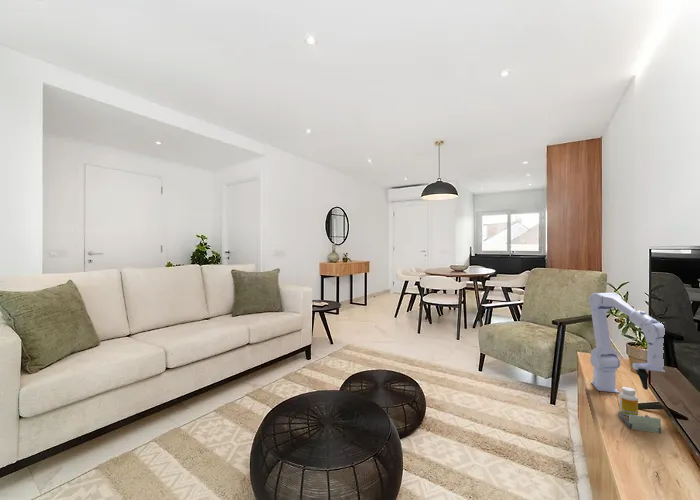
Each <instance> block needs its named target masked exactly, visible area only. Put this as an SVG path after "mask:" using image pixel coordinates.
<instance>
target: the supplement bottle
mask: <svg viewBox="0 0 700 500" xmlns="http://www.w3.org/2000/svg"><path fill="white" fill-rule="evenodd" d="M619 411H621V412H622V413H623V414H624V415H625V416H626V417H629V414H630V415H638V416H639V397H638V396H637V395H636V390H635V389H634V388H632V387H629V386H628V387H627V386H622V387H621V392H620V393H619Z"/></svg>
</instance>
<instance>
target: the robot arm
mask: <svg viewBox="0 0 700 500" xmlns="http://www.w3.org/2000/svg"><path fill="white" fill-rule="evenodd" d="M588 300H589V301H588V302H589V306H590V307H589V309H590V313H591V320H592V326H593V333H594V339H595V340H594V341H595V347H594V348H593V349H592V350H591V351H590V363H591V365H592V366H593V369H592V370H593V376H592V377H593V380H591V381H590V382H591V384H592V385H593V386H594V387H595V389H596V390H597V391H599V392H600V391H601V392H609V393H617V394H620V393H621V392H620V391H619V389H617V388H616V386H617V385H616V378H617V377H616V372H617V371H618V369H619V368H620V367H621V359H620V357H619V354H618V351H616V350H615V349H613V348H612V344H611V338H610V331H609V326H608V325H609V324H608V317H607V312H609V311H610V310H612V309H614V308H615V309H617V310H618V311H620V312H621V313H623V314H625V315H626V316H628V317H629V318H628V319H629V322H631V323H633V324H634V325H635V326H637V327H639V328H640V329H641V330H642V333H643V335H644V336H645V341H646V344H647V346H646V348H647V358H646V361H647V362H645V363H644V362H643V363H642V362H641V363H639V362H638V363H635V362H633V363H632V368H633V370H635V372H636V373H637V375H638V377H639V379H640V383H641V385H642V388H643V389H644V390H646V391H648V388H649V384H648V380H649V375H650V374H649V373H648V371H650V372H651V371H652V372H653V371H654V372H660V371H661V373H666V372H665V370H664V369H663V367H664V359H663V353H664V350H663V347H664V346H663V343H664V338H663V337H664V335H665V328H664V325H663V324H662V322H661V323H660V321H658V320H657V319H656V318H653V317H652V316H650V314H647V312H646V311H645V310H637V309H635V308H634V307H632V306H631V305H630V304H628V303H627V302H626V301H625V300H623V298H622V296H621V295H620V294H618V292H615V291H614V292H612V291H611V292H593V293H591V295H590V296H589V297H588Z"/></svg>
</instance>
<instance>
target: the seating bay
mask: <svg viewBox="0 0 700 500" xmlns="http://www.w3.org/2000/svg"><path fill="white" fill-rule="evenodd" d="M618 417H619V418H620V419H621V421H623V423H624V424H625V425H626V426H627V428H628V429H630V430H634V431H642V432H646V433H647V432H649V433H655V434H662V431H661V429H662V424H661V423H662V421H661V418H658V417H651V416H649V415H648V414H645V415H639V414H638V415H630V414H629V416H628V418H627V415H624V414H623V413H622V412H621V411H620V410H619V411H618Z"/></svg>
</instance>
